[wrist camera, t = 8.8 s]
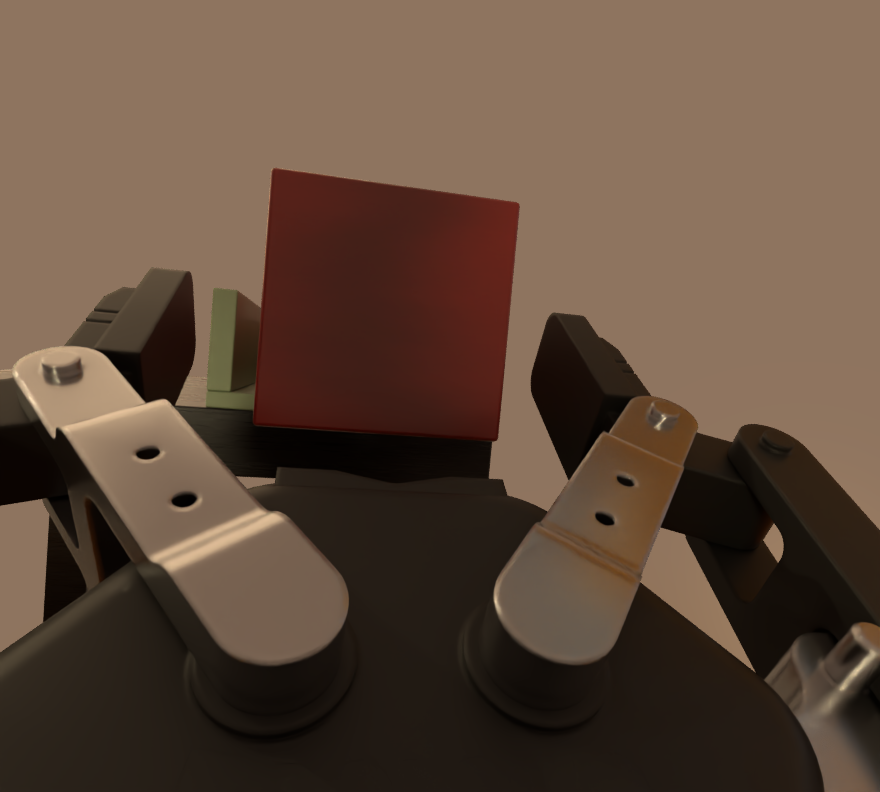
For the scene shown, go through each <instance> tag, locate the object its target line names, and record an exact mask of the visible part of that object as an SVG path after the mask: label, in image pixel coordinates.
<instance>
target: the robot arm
mask: <svg viewBox="0 0 880 792" xmlns="http://www.w3.org/2000/svg"><path fill="white" fill-rule="evenodd" d="M195 342H196V338H195V317H194V297H193V282H192V276H191V273H190V272H189V271H180V270H172V269H171V270H170V269H163V268H154V267H152V268H151V269H150V270H149V271H148V273H147V274H146V275H145V277H144V278H143V280H142V281H141V282H140V284H139V285H138V287H137V288H127V287H123V288H121V289H118V290H116V291H114V292H112V293H110V294H108V295H106V296H104V297H103V299H102V300H101V301H100V302H99V303H98V305H97V306H96V307H95V308H94V311H92V312H91V313H90V314H89V316H88V317H87V318H86V321H84V322H83V323H82V324H81V326H80V327H79V328H78V329H77V331H76V332H75V333H74V334H73V336H72V337H71V338H70V339H69V340H68V342H67V343H66V344H65V345H64V346H62V347H53V348H47V349H43V350H39V351H36V352H33V353H31V354H28V355H26V356H25V357H23V358H21V359H20V360H19V361H18V362H17V363H16V364H15V365H14V367H13V369H12V376H13V377H12V378H7V379H0V506H1V505H7V504H14V503H19V502H26V501H32V500H38V499H42V500H43V503H44V506H45V508H46V509H47V511H48V513H49V515H50V517H51V518H52V520H53V522H54V524H55V525H56V527H57V529H58V531H59V533H60V534H61V536H62V538H63V540H64V541H65V543H66V545H67V547H68V548H69V550H70V552H71V554H72V555H73V557H74V559H75V561H76V563H77V564H78V566H79V568H80V570H81V572H82V574H83V577H84V579H85V582H86V585H87V588H88V592H86V593H85V594H83V595H82V596H80V597H79V598H78V599H76V600H75V601H73V602H72V603H70V604H69V605H68V606H66V607H65V608H63V609H62V610H60V611H59V612H58V613H56V614H55V615H53V616H52V617H50V618H49V619H48V620H46V621H45V622H43V623H42V624H40V625H39V626H37V627H36V628H35V629H33V630H32V631H30V632H29V633H27V634H26V635H25V636H23V637H22V638H20V639H19V640H17V641H16V642H15V643H13V644H12V645H10V646H9V647H8V648H6V649H5V650H3V651H2V652H0V792H880V530H879V529H878V528H877V527H876V525H875V524H874V523H873V522H872V521H871V520H870V519H869V518H868V517H867V515H866V514H865V513H864V512H863V511H862V510H861V509H860V508H859V506H857V504H856V503H855V502H854V501H853V500H852V499H851V497H850V496H849V495H848V494H847V493H846V492H845V491H844V490H843V488H842V487H841V486H840V485H839V484H838V483H837V482H836V481H835V480H834V478H833V477H832V476H831V475H830V474H829V473H828V472H827V471H826V470H825V468H824V467H823V466H822V465H821V464H820V463H819V462H818V461H817V459H816V458H815V457H814V456H813V455H812V454H811V453H810V451H809V450H808V449H807V448H806V447H805V446H804V445H803V444H801V443H800V442H799V441H798V440H796V439H794V438H793V437H791V436H790V435H788V434H786V433H784V432H782V431H779V430H777V429H774V428H771V427H768V426H764V425H758V424H748V425H744V426H742V427H741V428H740V430H739V431H738V433H737V435H736V437H735V439H734V441H733V442H729V441H726V440H721V439H718V438H714V437H711V436H707V435H703V434H700V433H697V430H698V424H697V422H696V420H695V418H694V417H693V416H692V415H691V414H690V413H689V412H688V411H687V410H685V409H684V408H682V407H681V406H679V405H677V404H675V403H673V402H670V401H668V400H665V399H662V398H658V397H653V396H651V395H650V393H649V392H648V390H647V389H646V388H645V386H643V384H642V382H641V381H640V379H639V378H638V377H637V375H636V374H634V371H633V370H632V368H631V367H630V365H629V364H626V363H627V362H626V360H625V358H624V357H623V356H622V355H621V353H620V351H619V350H618V349H616V348H615V347H614V346H613V345H611V344H610V343H609V342H607V341H606V340H604V339H603V338H599V337H598V335H597V334H596V332H595V331H594V330H593V328H592V326H591V325H590V324H589V322H588V321H587V319H586V318H585V317H584V316H580V315H571V314H561V313H552V314H551V315H550V316H549V318H548V320H547V322H546V325H545V329H544V333H543V336H542V339H541V342H540V346H539V349H538V353H537V356H536V359H535V363H534V367H533V370H532V375H531V392H532V396H533V398H534V401H535V403H536V405H537V408H538V410H539V412H540V415H541V417H542V419H543V422H544V424H545V426H546V429H547V431H548V433H549V436H550V438H551V440H552V443H553V445H554V447H555V450H556V452H557V454H558V457H559V459H560V461H561V464H562V466H563V468H564V470H565V473H566V475H567V478H568V480H569V482H568V483H567V485H566V486H565V487H564V489H563V490H562V492H561V494H560V495H559V496H558V498H557V499H556V501H555V502H554V504H553V505H552V507H551V508H550V509H549V511H548V512H547V511H545V510H544V509H542V508H540V507H538V506H536V505H533V504H531V503H529V502H526V501H523V500H521V499H518V498H514V497H510V496H507V492H506V489H505V486H504V482H503V480H500V479H483V478H465V477H444V478H436V479H429V480H421V481H413V482H406V483H389V482H384V481H380V480H376V479H371V478H367V477H363V476H358V475H354V474H350V473H345V472H341V471H337V470H322V469H304V468H286V467H277V473H276V480H275V483H274V484H267V485H262V486H257V487H253V488H250V489H246V487H245V486H244V485H243V484H242V483H241V482H240V481H239V480H238V478H237V477H236V476H235V475H234V474H233V473H232V472H231V471H230V469H229V468H228V467H227V466H226V465H225V464H224V463H223V462H222V461H221V459H220V458H219V457H218V456H217V455H216V454H215V453H214V452H213V450H212V449H211V448H210V447H209V446H208V445H207V444H206V443H205V442H204V440H203V439H202V438H201V437H200V436H199V435H198V434H197V433H196V431H195V430H194V429H193V428H192V427H191V426H190V425H189V424H188V422H187V421H186V420H185V419H184V418H183V417H182V416H181V415H180V414H179V412H178V411H177V410H176V409H175V408H174V407H175V405H176V402H177V400H178V398H179V395H180V393H181V391H182V388H183V386H184V384H185V381H186V379H187V377H188V374H189V372H190V370H191V367H192V365H193V361H194V354H195V344H196V343H195ZM773 524H775V525H776V526H777V528H778V529H779V531H780V533H781V535H782V538H783V542H784V551H783V555H782V558H781V560H780V561H779V563H777V561H776V560H775V558H774V556H773V555H772V553H771V552H770V550H769V549H768V547H767V546H766V544H765V543H764V541H763V539H764V538H765V536H766V535H767V533H768V531H769V530H770V528H771V527H772V525H773ZM660 527H661V528H664V529H668V530H671V531H675V532H678V533H682V534H685V536H686V539H687V542H688V544H689V546H690V548H691V549H692V551H693V553H694V555H695V557H696V559H697V561H698V563H699V565H700V567H701V569H702V570H703V572H704V574H705V576H706V578H707V580H708V582H709V584H710V586H711V588H712V590H713V591H714V593H715V595H716V597H717V599H718V601H719V603H720V605H721V607H722V609H723V611H724V613H725V614H726V616H727V618H728V620H729V622H730V624H731V626H732V628H733V630H734V632H735V634H736V636H737V637H738V639H739V641H740V643H741V645H742V647H743V649H744V651H745V653H746V655H747V657H748V658H749V660H750V662H751V664H752V666H753V668H754V670H755V672H756V673H755V672H754V671H753V670H751V669H750V668H749V667H747V666H746V665H745V664H744V663H742V662H741V661H740V660H739V659H737V658H736V657H735V656H733V655H732V654H731V653H729V652H728V651H727V650H726V649H725V648H723V647H722V646H721V645H720V644H718V643H717V642H716V641H714V640H713V639H712V638H710V637H709V636H708V635H707V634H705V633H704V632H703V631H701V630H700V629H699V628H698V627H696V626H695V625H694V624H693V623H691V622H690V621H689V620H688V619H686V618H685V617H684V616H682V615H681V614H680V613H679V612H677V611H676V610H675V609H674V608H672V607H671V606H670V605H668V604H667V603H666V602H664V601H663V600H662V599H661V598H660V597H658V596H657V595H656V594H654V593H653V592H652V591H651V590H649V589H648V588H647V587H645V586H644V585H643V584H642V583H640V581H641V577H642V576H641V574H642V572H643V569H644V567H645V564H646V562H647V559H648V557H649V554H650V552H651V549H652V547H653V544H654V542H655V539H656V537H657V534H658V532H659V530H660Z"/></svg>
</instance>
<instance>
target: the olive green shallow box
mask: <svg viewBox="0 0 880 792" xmlns="http://www.w3.org/2000/svg"><path fill="white" fill-rule="evenodd" d="M260 315H261V308H260V307H259V306H258V305H256V304H255V303H253V302H252V301H251V300H249V299H248V298H247V297H245V296H244V295H243V294H242V293H240V292H239V291H237V290H230V289H219V288H214V290H213V303H212V317H211V332H210V346H209V360H208V374H207V390H209V391H207V392H206V404H205V405H206V407H209V408H223V409H238V410H252V411H253V409H254V396H255V382H256V369H257V355H258V342H259V328H260Z"/></svg>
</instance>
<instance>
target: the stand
mask: <svg viewBox="0 0 880 792" xmlns="http://www.w3.org/2000/svg"><path fill="white" fill-rule="evenodd" d="M12 377H13V376H12V370H0V379H7V378H12ZM207 391H209V390H207V378H206V377H193V376H188V377H187V379H186V381H185V384H184V386H183V388H182V391H181V393H180V395H179V398H178V400H177V402H176V405H175V407H174V408H175V409H176V410H177V411H178V412H179V414H180V415H181V416H182V417H183V418H184V419H185V420H186V421H187V422H188V424H189V425H190V426H191V427H192V428H193V429H194V430H195V431H196V433H197V434H198V435H199V436H200V437H201V438H202V439H203V440H204V442H205V443H206V444H207V445H208V446H209V447H210V448H211V449H212V450H213V452H214V453H215V454H216V455H217V456H218V457H219V458H220V459H221V461H222V462H223V463H224V464H225V465H226V466H227V467H228V468H229V469H230V471H231V472H232V473H233V474H234V475H235V476H240V477H261V478H276V473H277V467H286V468H304V469H322V470H337V471H341V472H345V473H350V474H354V475H358V476H363V477H367V478H371V479H376V480H380V481H384V482H389V483H406V482H413V481H421V480H429V479H436V478H444V477H465V478H483V479H489V469H490V458H491V448H492V441H477V440H462V439H447V438H432V437H417V436H401V435H386V434H371V433H356V432H341V431H326V430H311V429H296V428H281V427H265V426H256V425H254V424H253V411H252V410H238V409H223V408H209V407H206V405H205V404H206V392H207ZM48 532H49V533H48V549H47V565H46V583H45V600H44V617H43V622H45V621H46V620H48V619H49V618H50V617H52V616H53V615H55V614H56V613H58V612H59V611H60V610H62V609H63V608H65V607H66V606H68V605H69V604H70V603H72V602H73V601H75V600H76V599H78V598H79V597H80V596H82V595H83V594H85V593H86V592H88V588H87V585H86V582H85V579H84V577H83V574H82V572H81V570H80V568H79V566H78V564H77V563H76V561H75V559H74V557H73V555H72V554H71V552H70V550H69V548H68V547H67V545H66V543H65V541H64V540H63V538H62V536H61V534H60V533H59V531H58V529H57V527H56V525H55V524H54V522H53V520H52V518H51V517H50V515H49V531H48Z"/></svg>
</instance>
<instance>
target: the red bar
mask: <svg viewBox="0 0 880 792" xmlns="http://www.w3.org/2000/svg"><path fill="white" fill-rule="evenodd" d="M519 208H520V206H519V204H518V203H517V202H511V201H504V200H497V199H490V198H483V197H476V196H469V195H462V194H455V193H448V192H441V191H434V190H427V189H420V188H413V187H407V186H399V185H392V184H386V183H378V182H371V181H364V180H358V179H350V178H344V177H337V176H330V175H323V174H316V173H309V172H302V171H295V170H288V169H281V168H273V169H272V171H271V180H270V193H269V207H268V221H267V234H266V248H265V261H264V274H263V289H262V302H261V315H260V328H259V342H258V355H257V369H256V382H255V396H254V409H253V424H254V425H256V426H265V427H281V428H296V429H311V430H326V431H341V432H356V433H371V434H386V435H401V436H417V437H432V438H447V439H462V440H477V441H492V442H494V441H497V439H498V433H499V422H500V411H501V400H502V389H503V379H504V369H505V357H506V347H507V336H508V326H509V315H510V305H511V294H512V283H513V273H514V262H515V251H516V240H517V230H518V218H519Z"/></svg>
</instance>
